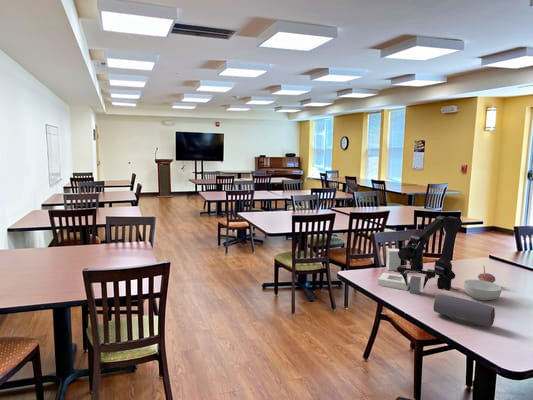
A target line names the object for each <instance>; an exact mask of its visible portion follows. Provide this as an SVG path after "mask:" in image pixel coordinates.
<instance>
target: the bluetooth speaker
mask: <svg viewBox="0 0 533 400" xmlns="http://www.w3.org/2000/svg"><path fill="white" fill-rule="evenodd" d="M432 307H433V312H434V313H437V314H440V315H443V316H445V317H449V319H450V320H451V321H452V320H453V321H456V322H459V323H462V324H465V325H470V326H476V325H479V326H484V327H488V328H489V327H490V328H492V326H493V324H494V323H495V318H496V313H495V312H496V311H495V307H494V306H491V305H488V304H484V303H481V302H478V301H475V300H469V299H466V298H461V297H458V296H451V295H448V294H447V295H446V294H443V293H442V294H441V293H437V294H436V295H435V297H434V302H433V306H432Z"/></svg>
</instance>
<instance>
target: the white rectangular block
mask: <svg viewBox="0 0 533 400" xmlns="http://www.w3.org/2000/svg"><path fill="white" fill-rule="evenodd" d="M399 250H400V249H399V248H386V261H385V262H386V269H387V270H388V271H396V272H397V268H398V266H399V265H402V264H401V263H402V262H401V261H402V260H401V259H400V258H399V256H398V252H399Z"/></svg>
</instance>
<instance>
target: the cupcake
mask: <svg viewBox="0 0 533 400" xmlns="http://www.w3.org/2000/svg"><path fill="white" fill-rule="evenodd" d="M477 280H482V281H487V282H491V283H495V282H496V276H494V275H493V274H491V273H487V272H486V267H485V265H484V264H483V273H480V274H478V275H477Z"/></svg>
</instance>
